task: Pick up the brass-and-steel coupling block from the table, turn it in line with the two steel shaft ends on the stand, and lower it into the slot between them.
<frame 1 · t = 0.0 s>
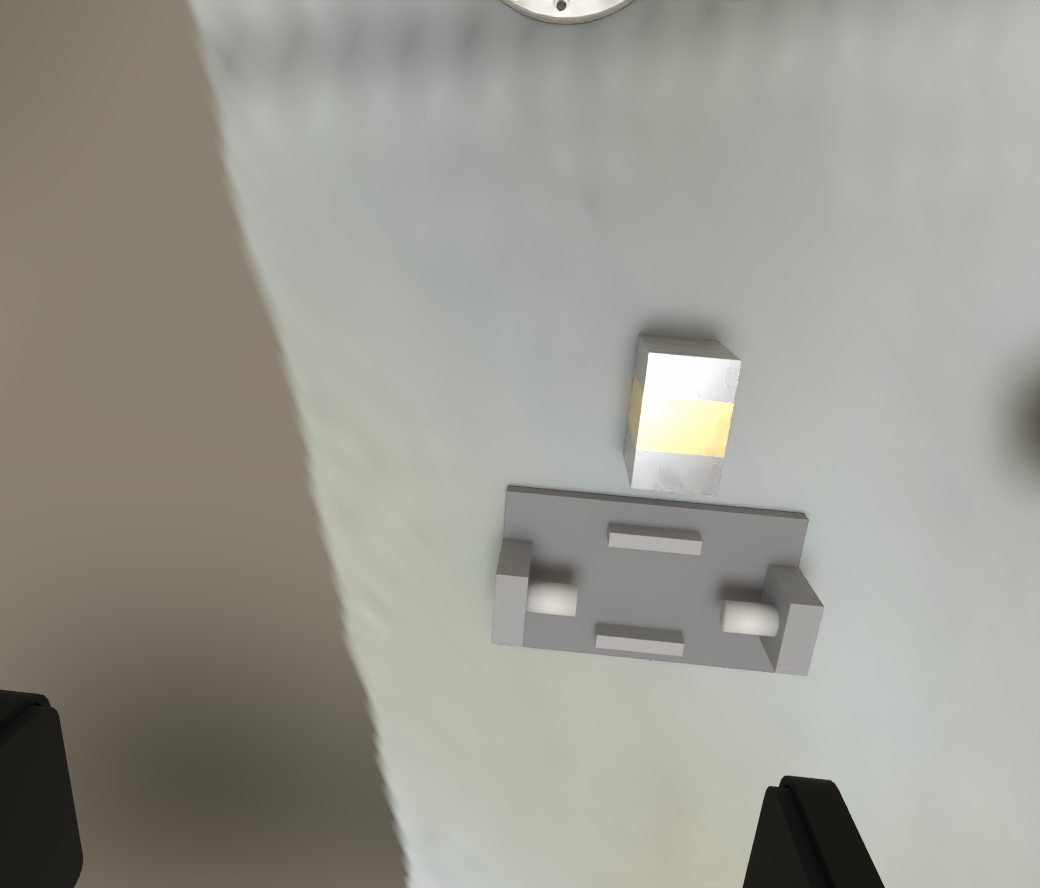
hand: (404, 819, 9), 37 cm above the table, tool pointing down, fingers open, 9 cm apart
coupler: (669, 399, 45), on the table
shaft stand: (643, 577, 49), on the table
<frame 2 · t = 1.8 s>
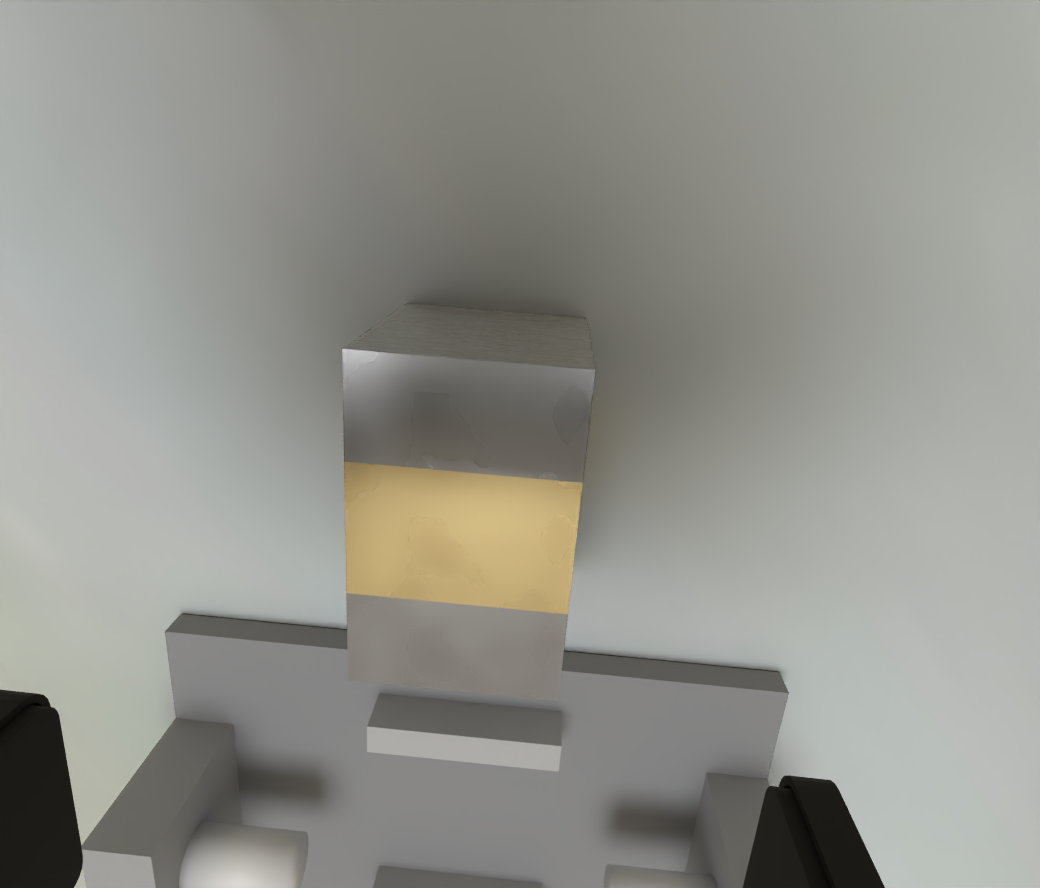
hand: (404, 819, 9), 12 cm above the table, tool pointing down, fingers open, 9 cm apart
coupler: (488, 445, 21), on the table
shaft stand: (467, 781, 25), on the table
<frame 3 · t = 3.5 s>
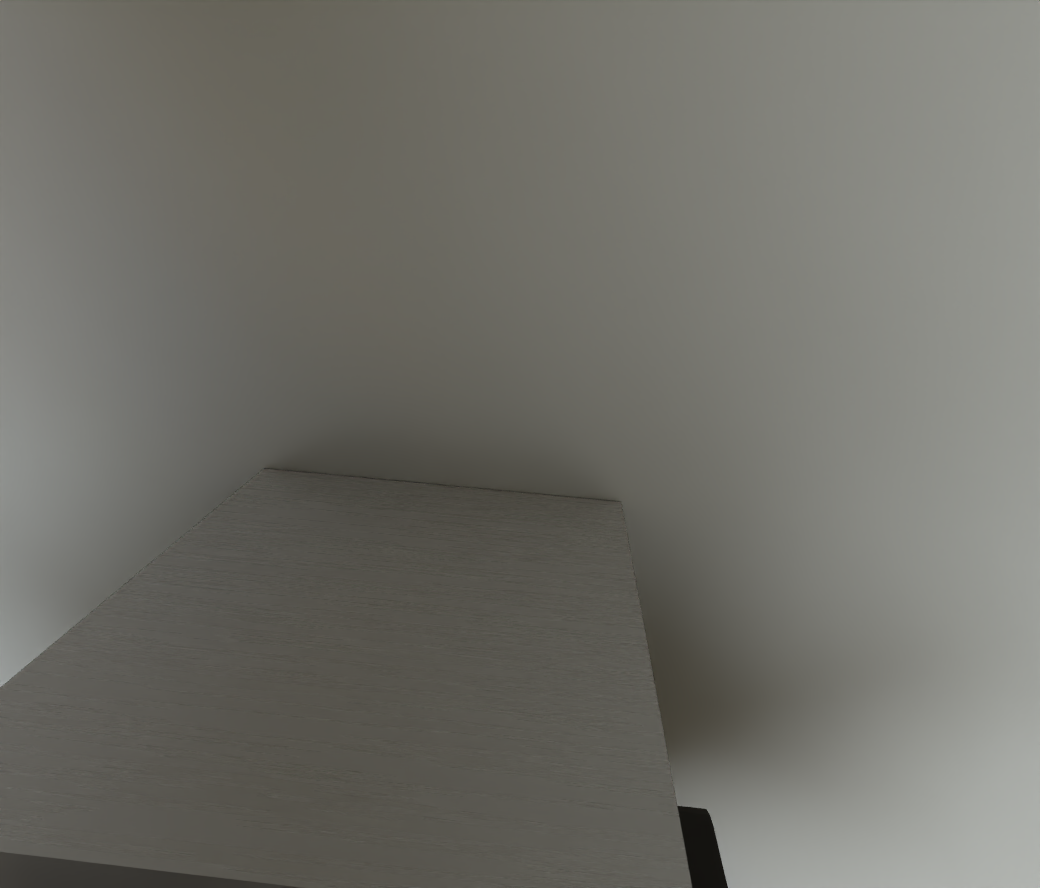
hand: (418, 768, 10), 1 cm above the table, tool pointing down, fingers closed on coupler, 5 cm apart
coupler: (431, 720, 11), on the table, touching gripper
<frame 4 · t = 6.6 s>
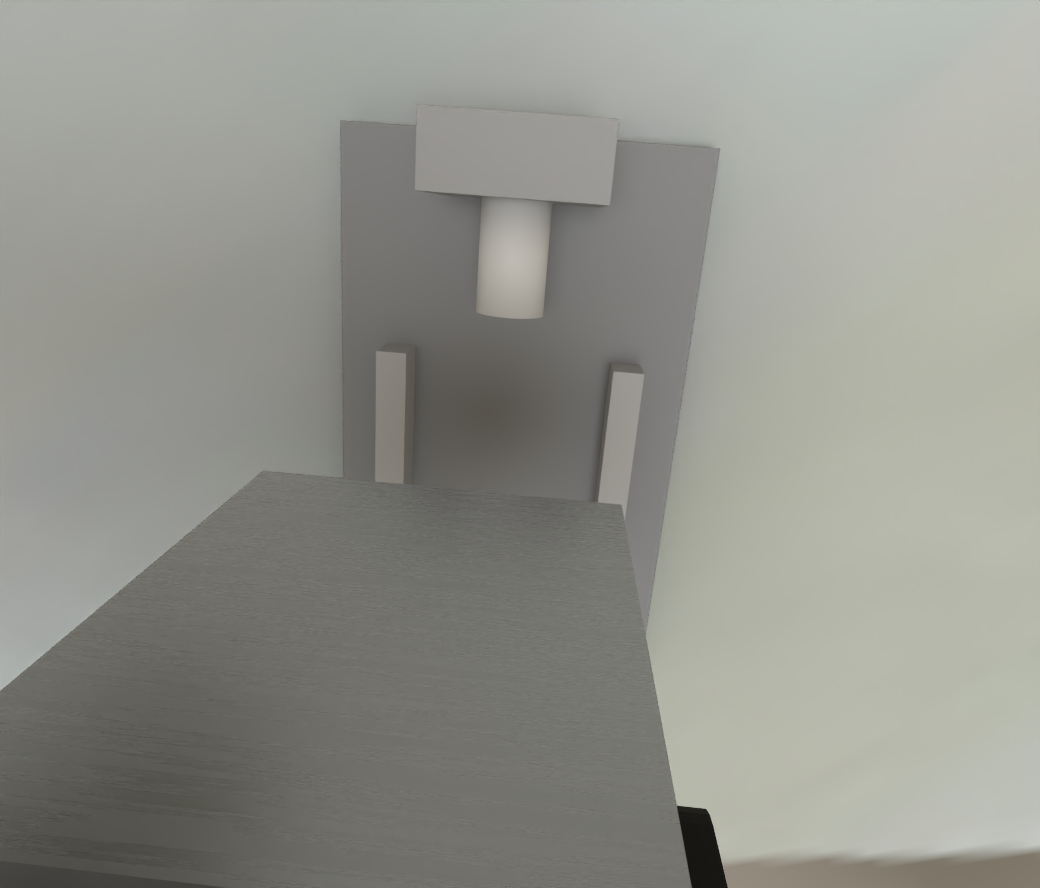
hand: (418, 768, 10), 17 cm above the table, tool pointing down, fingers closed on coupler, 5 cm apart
coupler: (431, 723, 11), point 16 cm above the table, touching gripper
shaft stand: (509, 427, 26), on the table
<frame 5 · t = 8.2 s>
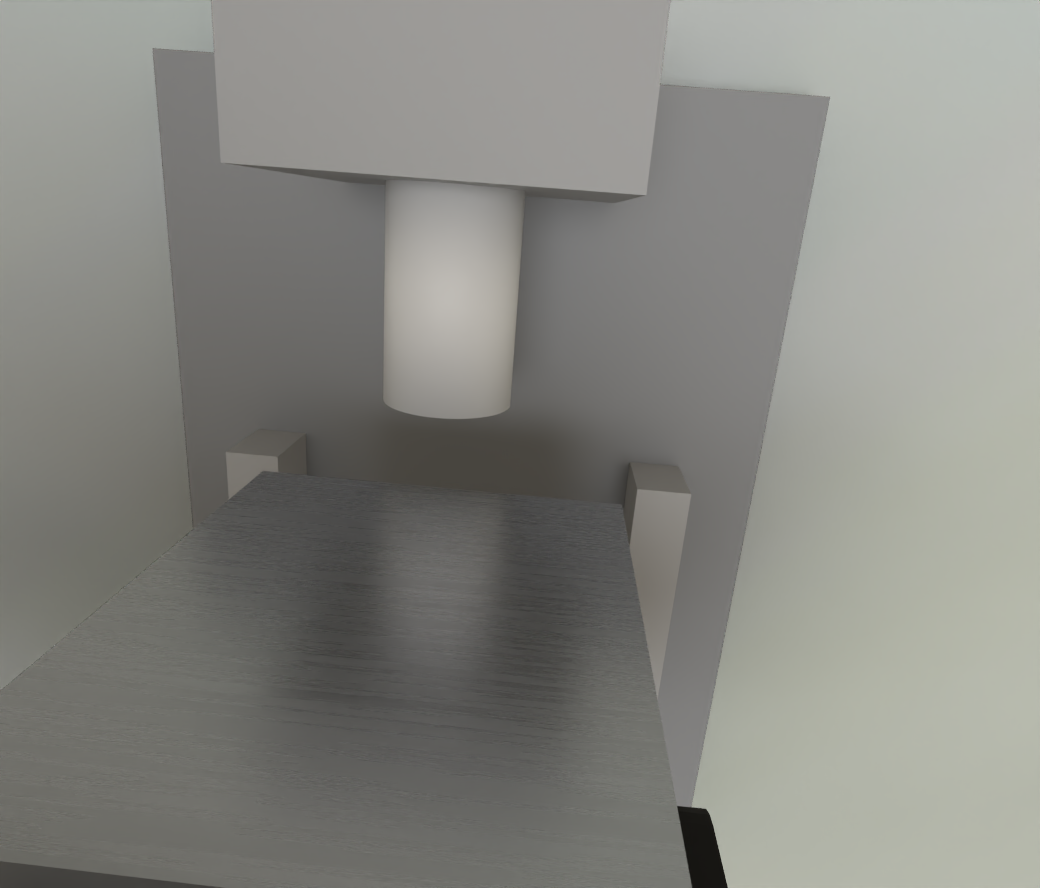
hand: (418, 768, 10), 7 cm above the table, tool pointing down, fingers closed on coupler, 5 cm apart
coupler: (431, 723, 11), point 6 cm above the table, touching gripper
shaft stand: (465, 554, 16), on the table
when the fingers open (3 cm above the table, at t = 9.7 s): coupler drops 1 cm, resting on shaft stand.
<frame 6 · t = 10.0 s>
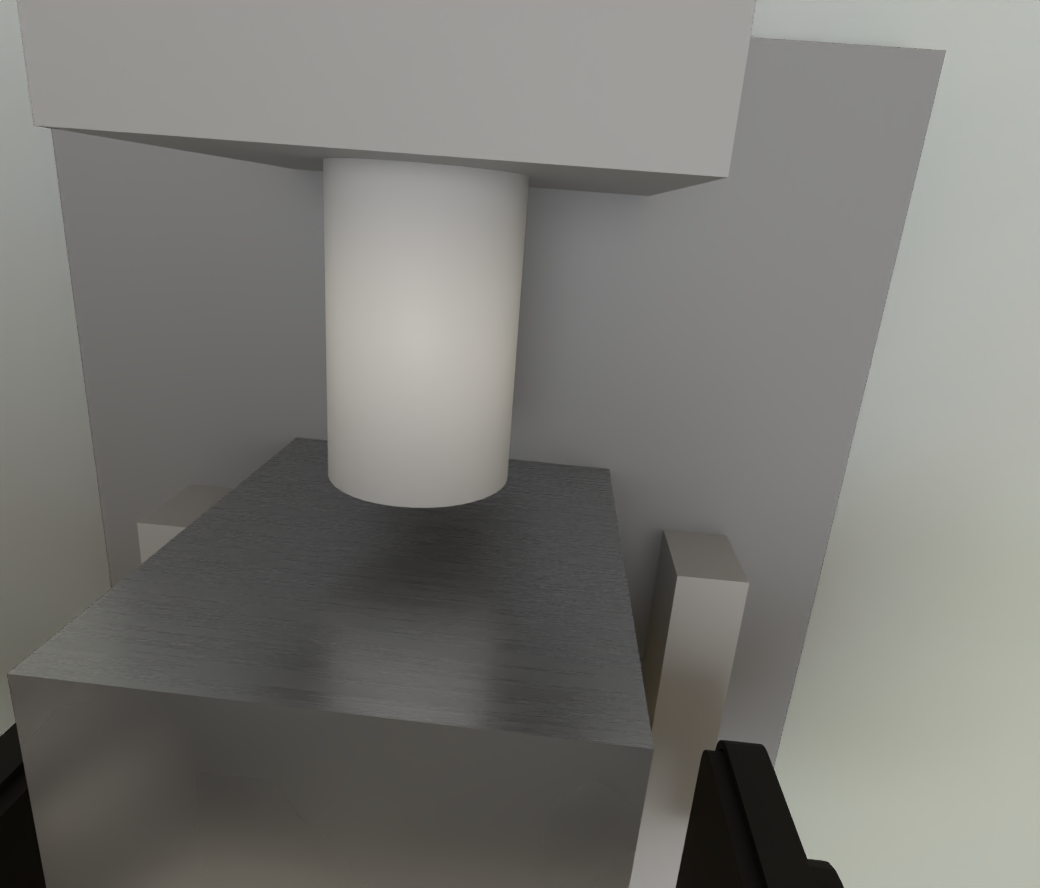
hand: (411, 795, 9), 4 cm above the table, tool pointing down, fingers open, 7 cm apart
coupler: (439, 665, 12), point 1 cm above the table, touching shaft stand
shaft stand: (455, 632, 13), on the table
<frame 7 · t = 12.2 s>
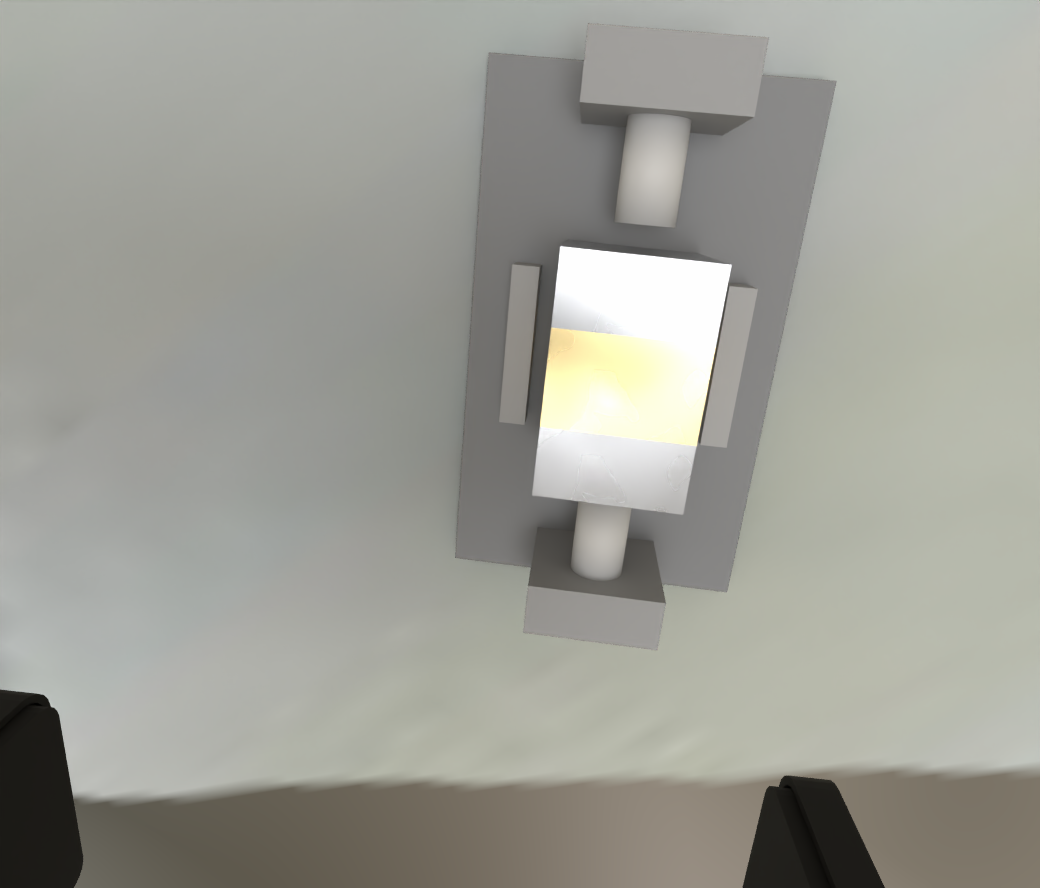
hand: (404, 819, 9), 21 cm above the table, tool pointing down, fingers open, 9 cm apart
coupler: (617, 351, 27), point 1 cm above the table, touching shaft stand
shaft stand: (619, 346, 28), on the table
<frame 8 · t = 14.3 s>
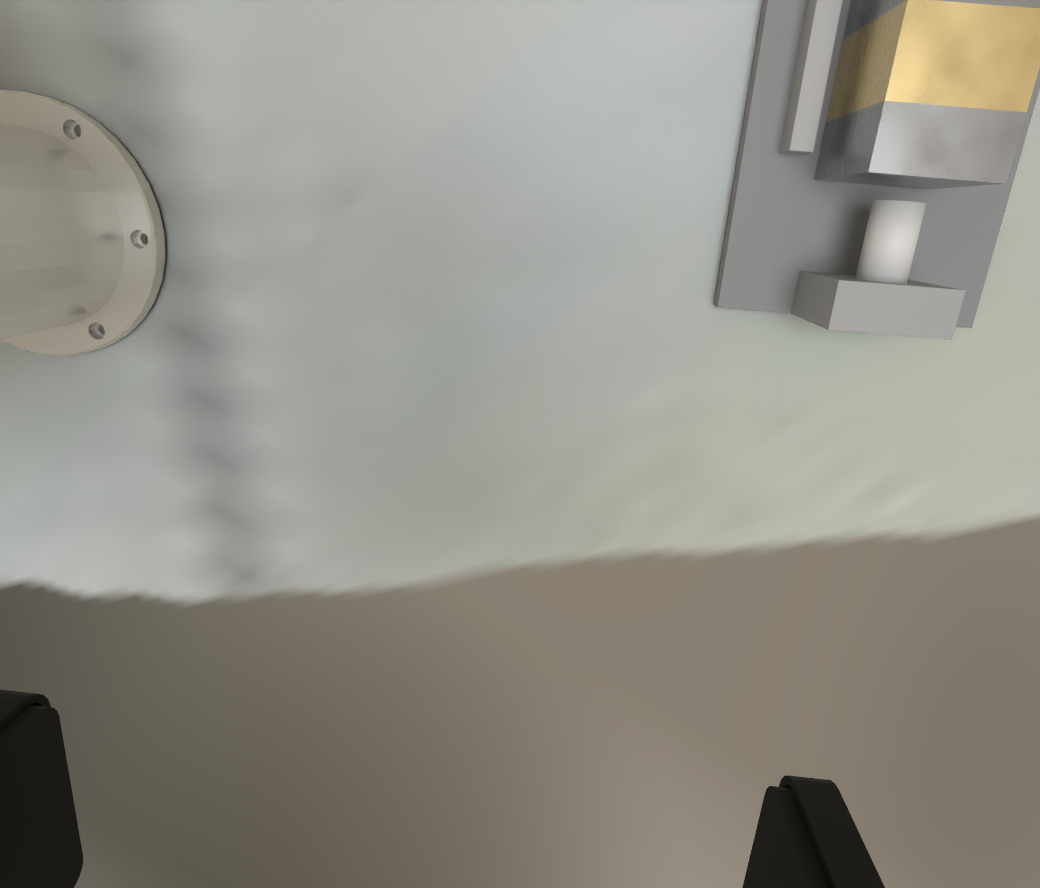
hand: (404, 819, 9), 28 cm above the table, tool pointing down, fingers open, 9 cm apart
coupler: (892, 86, 30), point 1 cm above the table, touching shaft stand
shaft stand: (885, 89, 31), on the table
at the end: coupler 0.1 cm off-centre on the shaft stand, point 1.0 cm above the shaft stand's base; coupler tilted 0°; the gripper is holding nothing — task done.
